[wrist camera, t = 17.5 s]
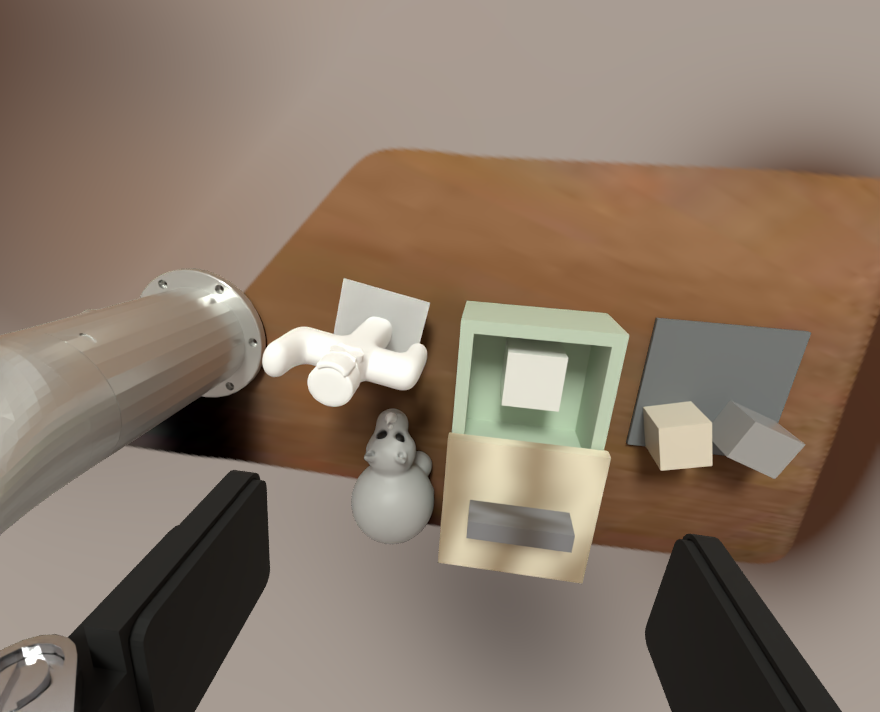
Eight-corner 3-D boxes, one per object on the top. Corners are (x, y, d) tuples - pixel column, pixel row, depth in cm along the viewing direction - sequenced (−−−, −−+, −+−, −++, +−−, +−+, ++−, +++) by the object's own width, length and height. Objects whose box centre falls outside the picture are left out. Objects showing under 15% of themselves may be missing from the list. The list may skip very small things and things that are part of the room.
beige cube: (645, 445, 40) (660, 470, 37) (643, 406, 39) (658, 428, 35) (691, 440, 40) (712, 465, 36) (691, 401, 38) (712, 422, 35)
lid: (439, 553, 39) (434, 587, 36) (449, 432, 35) (444, 456, 32) (580, 573, 38) (588, 610, 35) (607, 451, 34) (620, 478, 31)
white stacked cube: (500, 381, 40) (501, 405, 35) (506, 333, 38) (508, 352, 33) (551, 386, 39) (558, 411, 34) (559, 338, 38) (568, 358, 33)
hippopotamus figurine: (443, 393, 42) (430, 441, 33) (439, 502, 46) (426, 569, 37) (366, 387, 42) (334, 432, 34) (369, 495, 46) (341, 558, 38)
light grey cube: (704, 432, 39) (726, 456, 35) (730, 399, 38) (755, 421, 34) (748, 452, 39) (774, 479, 36) (774, 420, 38) (805, 444, 34)
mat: (626, 442, 41) (627, 444, 40) (656, 317, 37) (657, 318, 36) (762, 457, 40) (764, 460, 39) (807, 331, 36) (811, 332, 35)
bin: (450, 487, 45) (443, 532, 39) (466, 300, 38) (461, 319, 32) (569, 502, 44) (581, 551, 38) (607, 313, 37) (629, 335, 31)
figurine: (428, 370, 41) (392, 458, 27) (331, 342, 41) (247, 415, 27) (447, 297, 38) (420, 351, 24) (345, 268, 39) (259, 305, 25)
